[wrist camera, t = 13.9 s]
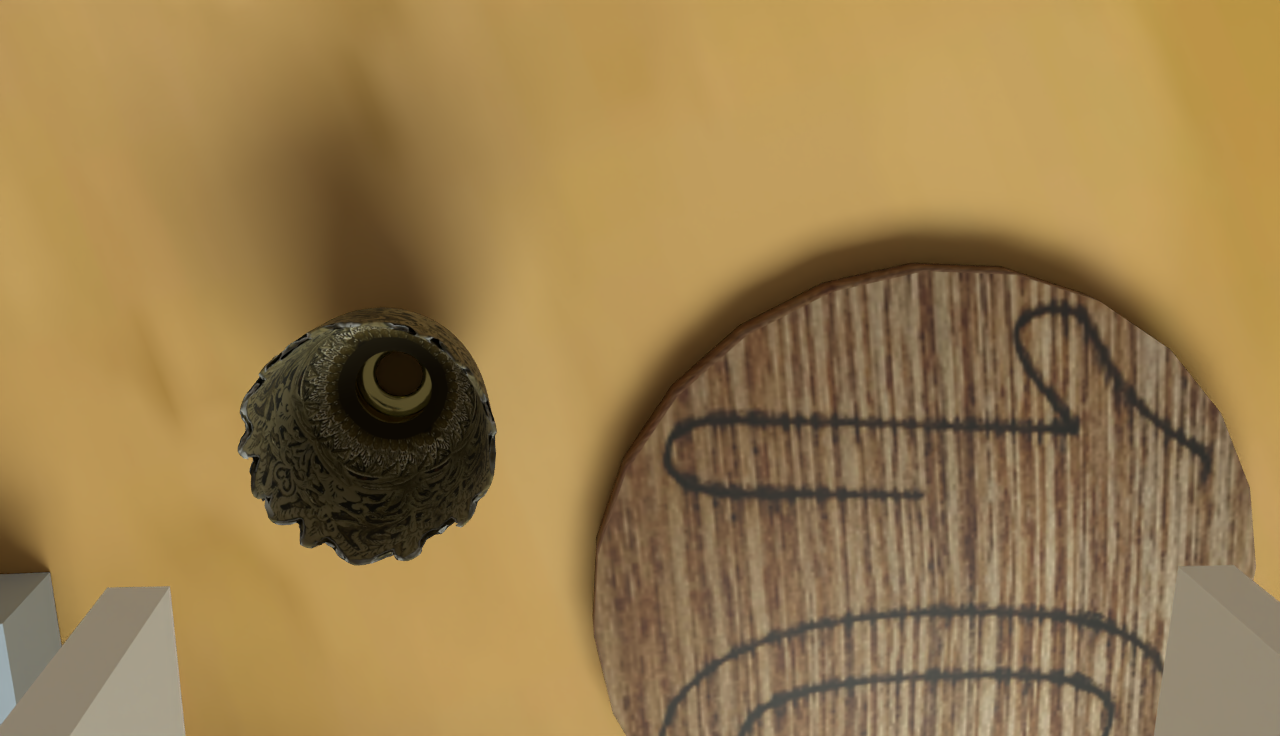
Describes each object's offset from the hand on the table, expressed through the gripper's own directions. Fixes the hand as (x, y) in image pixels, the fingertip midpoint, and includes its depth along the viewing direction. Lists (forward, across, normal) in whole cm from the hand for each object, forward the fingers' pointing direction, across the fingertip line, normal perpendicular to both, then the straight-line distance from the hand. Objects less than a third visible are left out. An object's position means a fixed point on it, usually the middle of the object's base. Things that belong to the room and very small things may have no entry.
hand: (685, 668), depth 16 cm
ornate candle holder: (+28, -7, -4) cm, 29 cm away
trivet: (+28, +12, -13) cm, 33 cm away
